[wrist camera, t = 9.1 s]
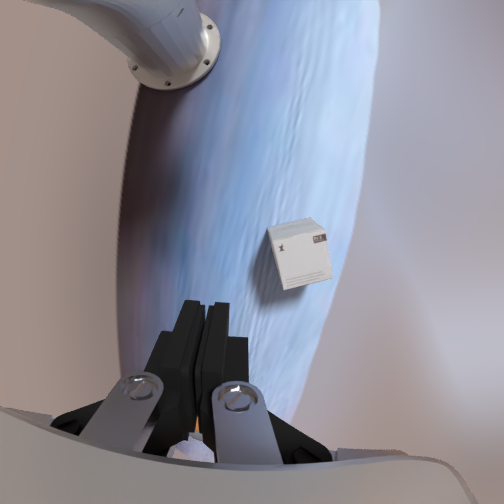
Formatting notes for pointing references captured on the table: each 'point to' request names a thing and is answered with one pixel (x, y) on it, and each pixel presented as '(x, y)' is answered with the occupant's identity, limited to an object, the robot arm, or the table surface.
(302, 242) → the skincare box
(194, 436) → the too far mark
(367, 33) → the table surface
